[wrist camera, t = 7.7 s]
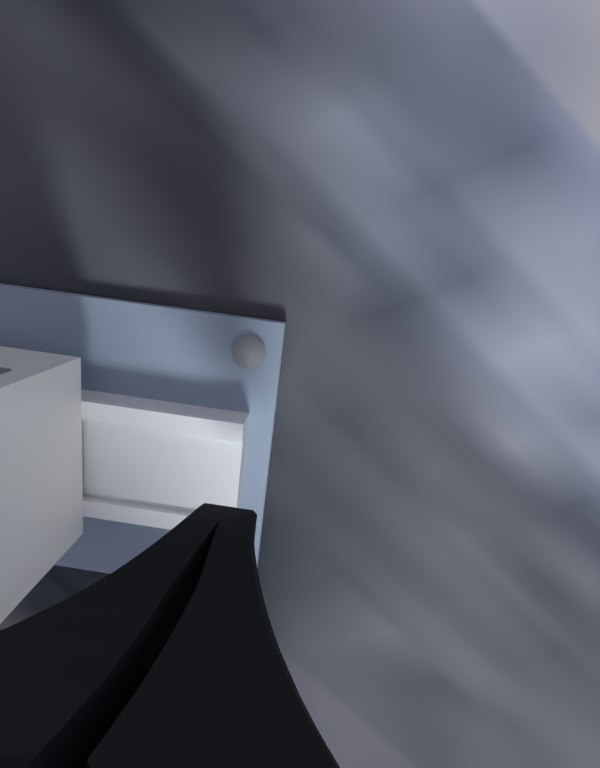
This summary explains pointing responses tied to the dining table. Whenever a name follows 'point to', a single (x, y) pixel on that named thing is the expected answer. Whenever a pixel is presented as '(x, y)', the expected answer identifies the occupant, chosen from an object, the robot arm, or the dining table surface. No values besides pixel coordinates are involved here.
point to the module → (37, 467)
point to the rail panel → (156, 411)
